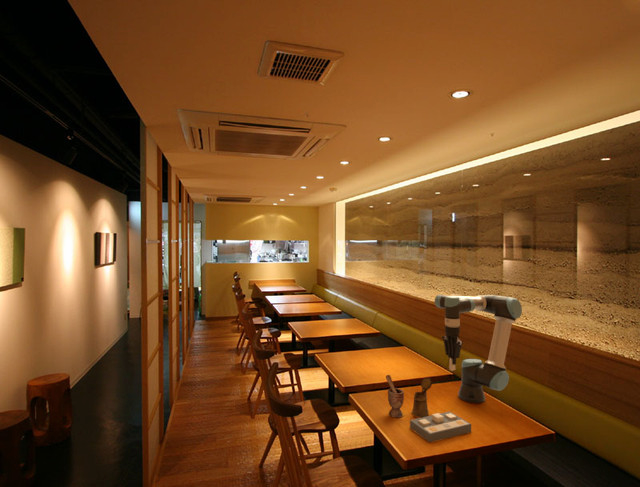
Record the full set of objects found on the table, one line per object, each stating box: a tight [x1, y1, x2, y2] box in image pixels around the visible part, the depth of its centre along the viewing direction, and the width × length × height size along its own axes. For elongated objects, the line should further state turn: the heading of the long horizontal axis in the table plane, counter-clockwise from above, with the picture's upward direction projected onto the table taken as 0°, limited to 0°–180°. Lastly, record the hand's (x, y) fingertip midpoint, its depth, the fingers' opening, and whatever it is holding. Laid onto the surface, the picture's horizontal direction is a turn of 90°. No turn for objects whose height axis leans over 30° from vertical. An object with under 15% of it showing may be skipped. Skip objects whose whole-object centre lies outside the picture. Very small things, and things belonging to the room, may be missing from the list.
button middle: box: [431, 412, 444, 423], centre depth 191 cm, size 4×4×4 cm
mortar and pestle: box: [385, 374, 405, 419], centre depth 207 cm, size 12×9×20 cm
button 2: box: [445, 412, 458, 420], centre depth 194 cm, size 4×4×4 cm
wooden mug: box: [411, 377, 433, 418], centre depth 208 cm, size 9×14×18 cm, turn 134°
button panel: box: [409, 411, 472, 443], centre depth 189 cm, size 26×15×4 cm, turn 113°
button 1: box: [418, 419, 430, 426], centre depth 188 cm, size 4×4×4 cm
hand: (452, 369), depth 199 cm, fingers closed
